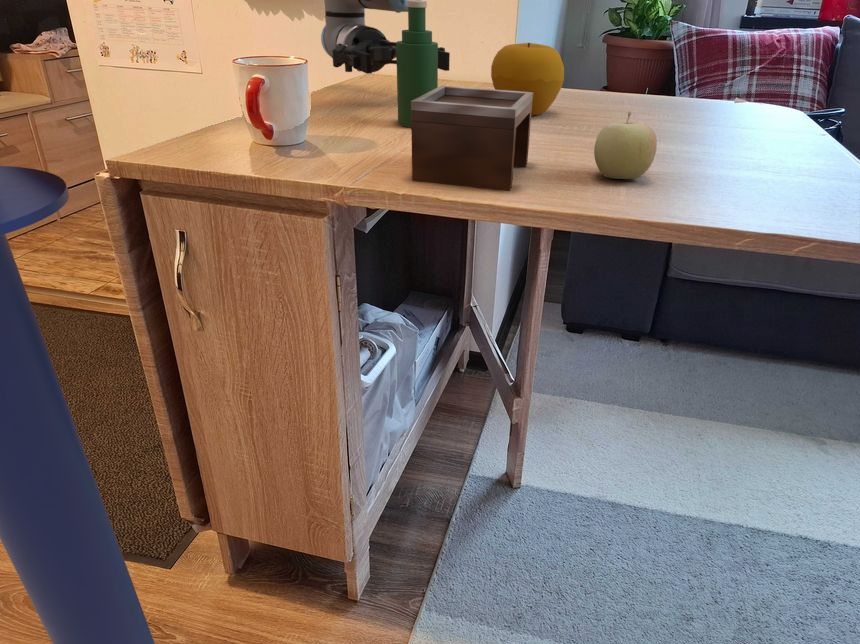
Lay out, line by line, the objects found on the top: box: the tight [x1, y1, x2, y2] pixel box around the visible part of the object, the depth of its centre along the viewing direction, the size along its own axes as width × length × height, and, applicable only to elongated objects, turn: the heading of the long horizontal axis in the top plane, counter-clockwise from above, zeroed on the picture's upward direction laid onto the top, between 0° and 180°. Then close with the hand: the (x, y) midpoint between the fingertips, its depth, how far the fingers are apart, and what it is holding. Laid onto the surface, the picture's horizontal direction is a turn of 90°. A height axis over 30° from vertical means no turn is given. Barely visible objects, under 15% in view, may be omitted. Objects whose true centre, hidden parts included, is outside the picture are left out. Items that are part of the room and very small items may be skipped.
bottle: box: [395, 0, 439, 129], centre depth 98 cm, size 6×6×18 cm
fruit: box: [593, 111, 658, 180], centre depth 78 cm, size 8×7×8 cm
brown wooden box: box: [410, 85, 533, 192], centre depth 77 cm, size 12×12×9 cm
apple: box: [490, 42, 565, 117], centre depth 111 cm, size 13×13×11 cm
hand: (409, 63), depth 101 cm, fingers open, 13 cm apart
